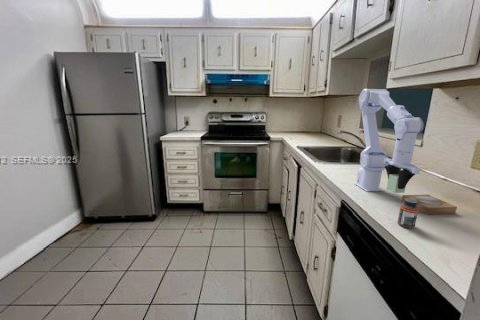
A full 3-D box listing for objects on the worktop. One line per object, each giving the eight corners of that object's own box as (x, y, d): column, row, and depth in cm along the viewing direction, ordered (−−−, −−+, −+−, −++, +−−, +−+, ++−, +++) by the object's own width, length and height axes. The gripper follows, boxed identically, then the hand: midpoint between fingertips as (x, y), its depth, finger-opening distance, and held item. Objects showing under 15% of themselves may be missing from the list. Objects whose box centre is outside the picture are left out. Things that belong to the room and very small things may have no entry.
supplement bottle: (397, 220, 74) (403, 196, 72) (414, 225, 71) (420, 200, 69) (396, 225, 71) (401, 200, 68) (414, 230, 68) (420, 204, 66)
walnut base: (401, 201, 89) (402, 194, 88) (426, 200, 90) (428, 194, 89) (427, 214, 78) (428, 207, 78) (455, 213, 79) (457, 206, 79)
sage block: (386, 188, 88) (389, 174, 86) (396, 188, 88) (399, 173, 87) (394, 192, 84) (397, 177, 83) (404, 192, 84) (407, 177, 83)
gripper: (379, 147, 89) (373, 180, 92) (410, 155, 75) (401, 194, 78) (395, 147, 90) (389, 179, 93) (429, 155, 76) (420, 193, 79)
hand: (396, 186), depth 86 cm, fingers closed on sage block, 4 cm apart
